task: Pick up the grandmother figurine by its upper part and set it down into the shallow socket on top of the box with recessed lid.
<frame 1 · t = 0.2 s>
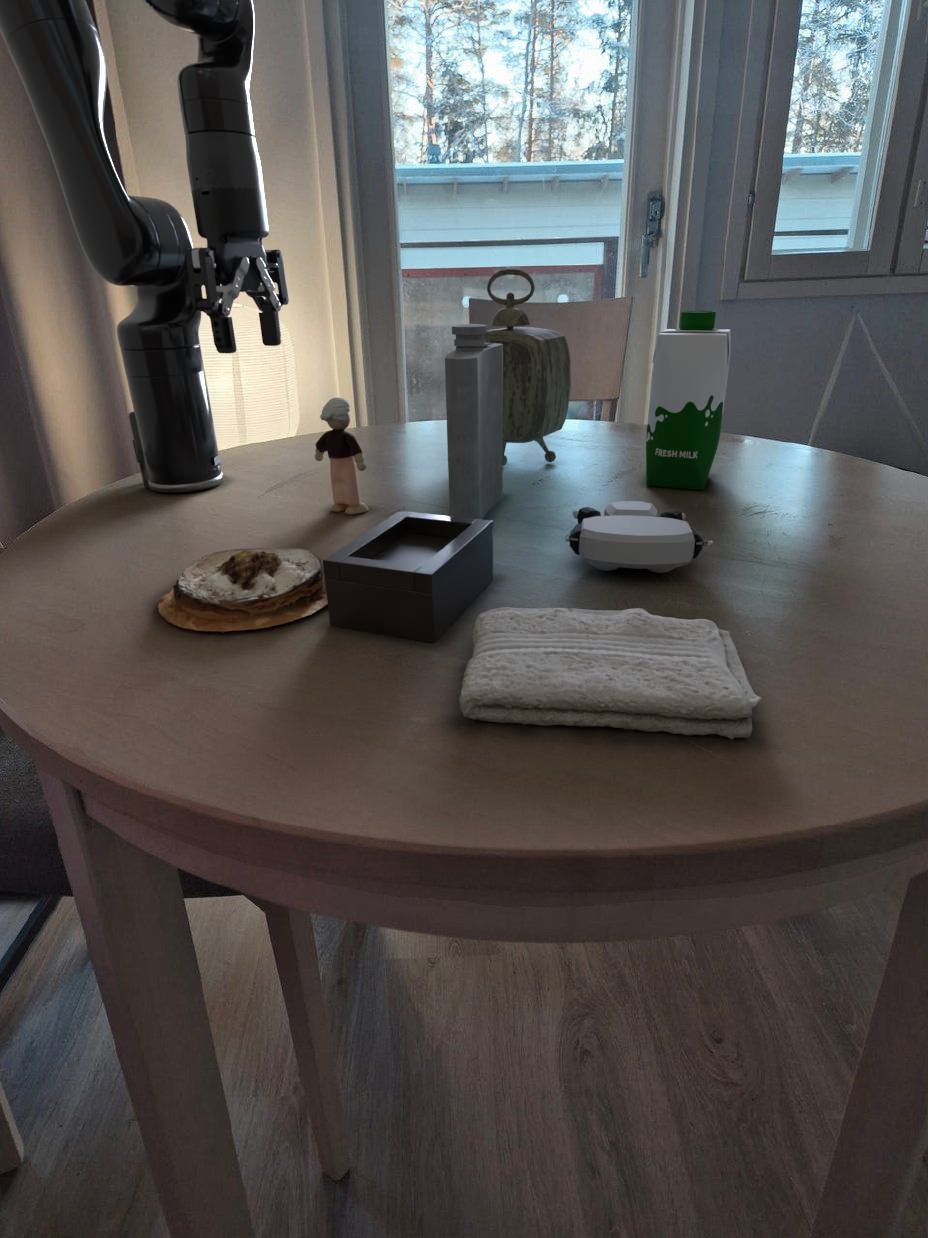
hand: (250, 349, 83), 17 cm above the table, tool pointing down, fingers open, 8 cm apart
tabletop clock: (508, 464, 103), on the table
milk carton: (677, 482, 92), on the table
robot toy: (630, 558, 68), on the table
washcloth: (600, 687, 47), on the table
box with recessed lid: (416, 600, 60), on the table
hip flask: (474, 515, 81), on the table
cream topped tart: (252, 597, 62), on the table
grandmother figurine: (346, 510, 84), on the table
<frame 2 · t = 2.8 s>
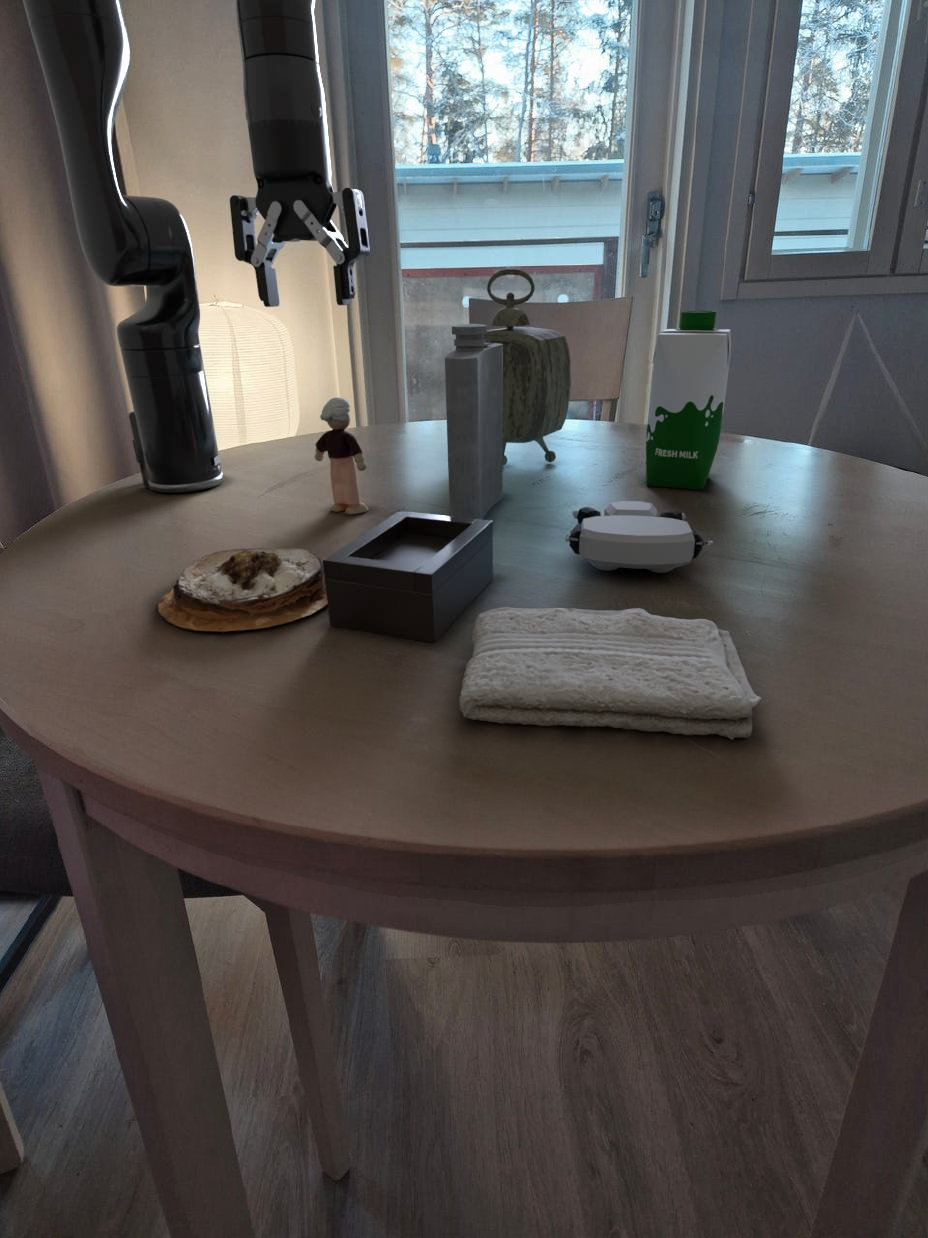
hand: (307, 305, 76), 22 cm above the table, tool pointing down, fingers open, 8 cm apart
nothing on the table moved.
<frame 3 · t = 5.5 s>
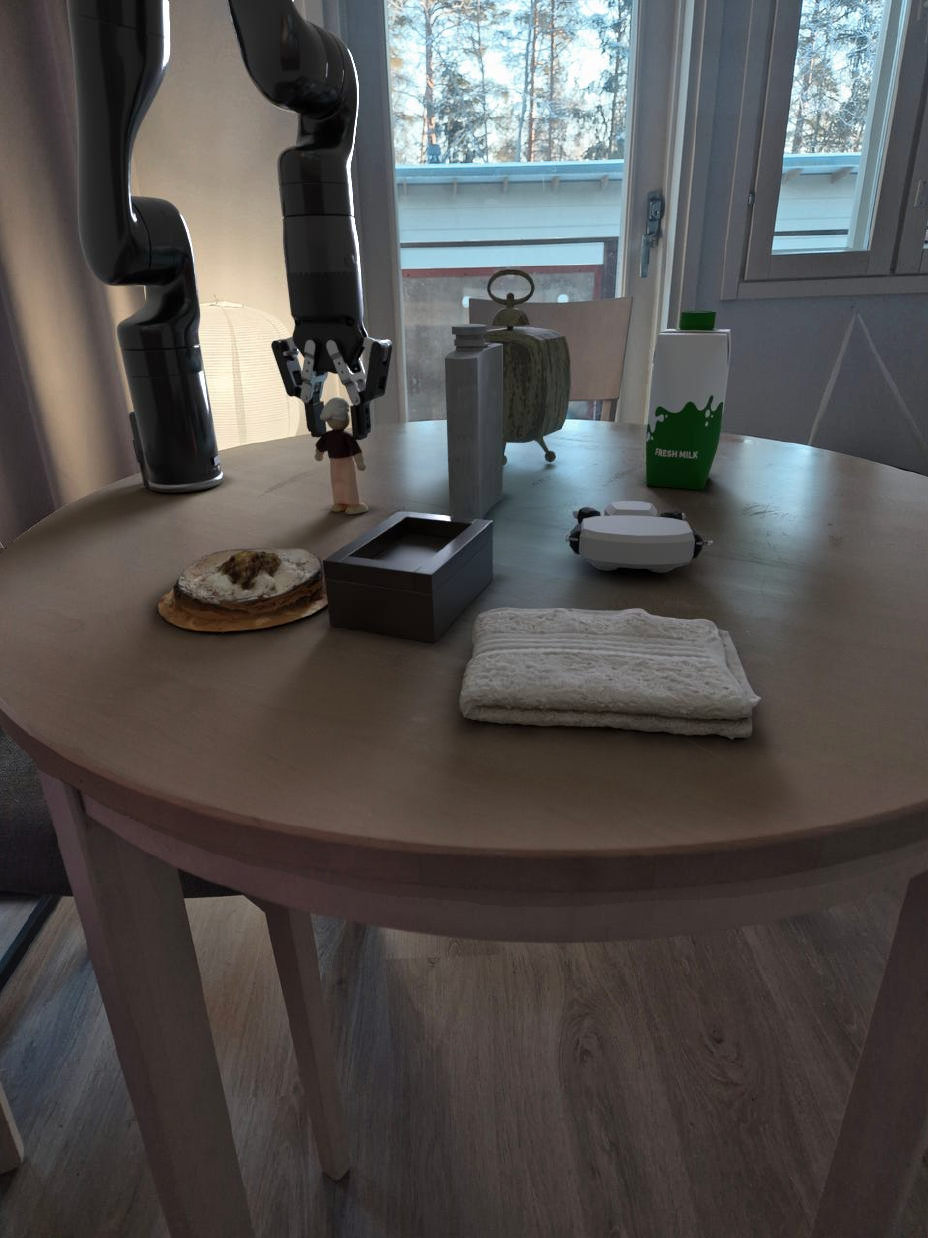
hand: (339, 436, 80), 8 cm above the table, tool pointing down, fingers closed on grandmother figurine, 4 cm apart
grandmother figurine: (346, 510, 84), on the table, touching gripper
everything else where it was.
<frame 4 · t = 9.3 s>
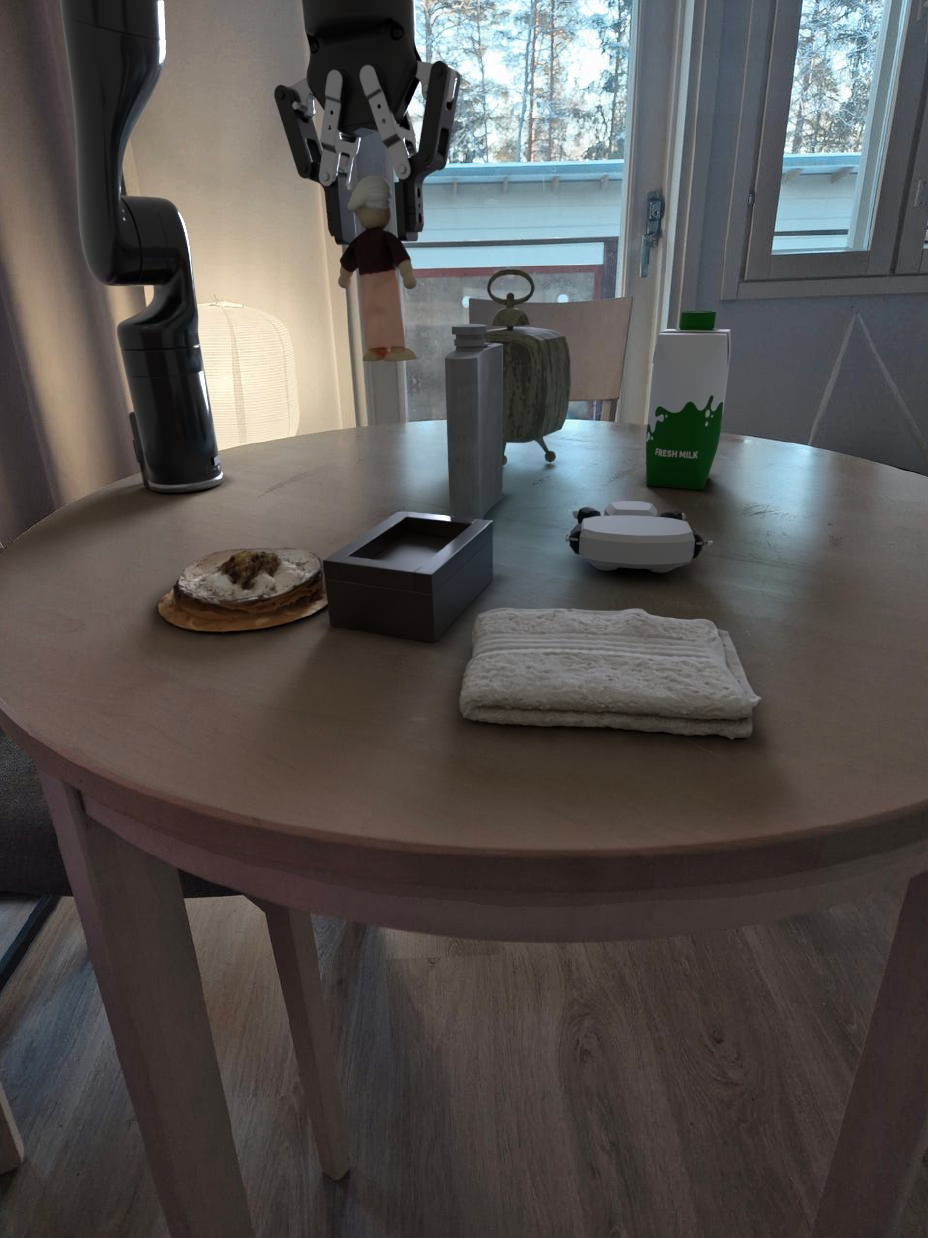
hand: (376, 241, 54), 27 cm above the table, tool pointing down, fingers closed on grandmother figurine, 4 cm apart
grandmother figurine: (384, 362, 58), point 18 cm above the table, touching gripper
everything else where it was.
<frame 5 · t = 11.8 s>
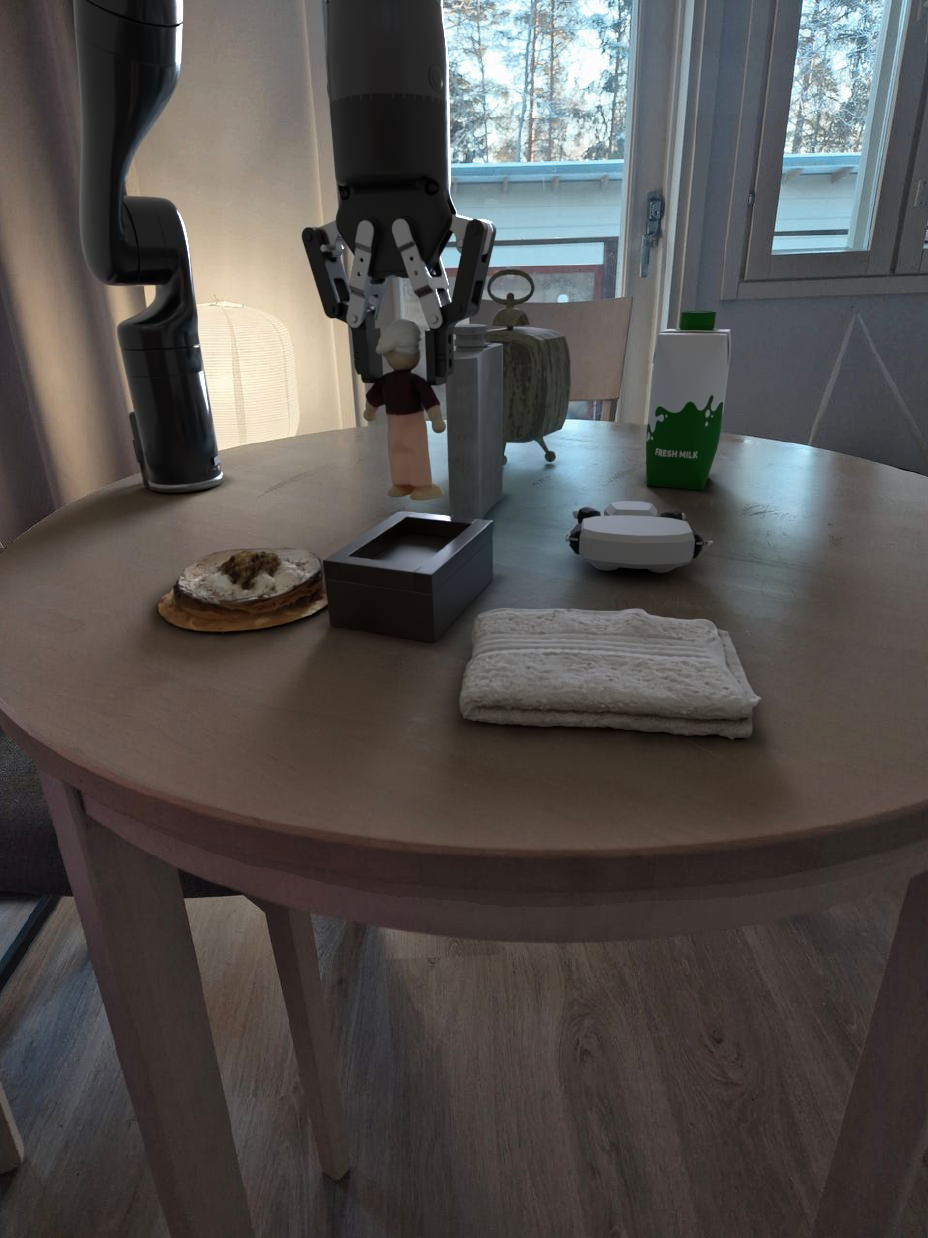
hand: (404, 381, 52), 18 cm above the table, tool pointing down, fingers closed on grandmother figurine, 4 cm apart
grandmother figurine: (409, 496, 56), point 9 cm above the table, touching gripper
everything else where it was.
when the fingers open (12 cm above the table, at t = 13.5 s): grandmother figurine stays where it is, resting on box with recessed lid.
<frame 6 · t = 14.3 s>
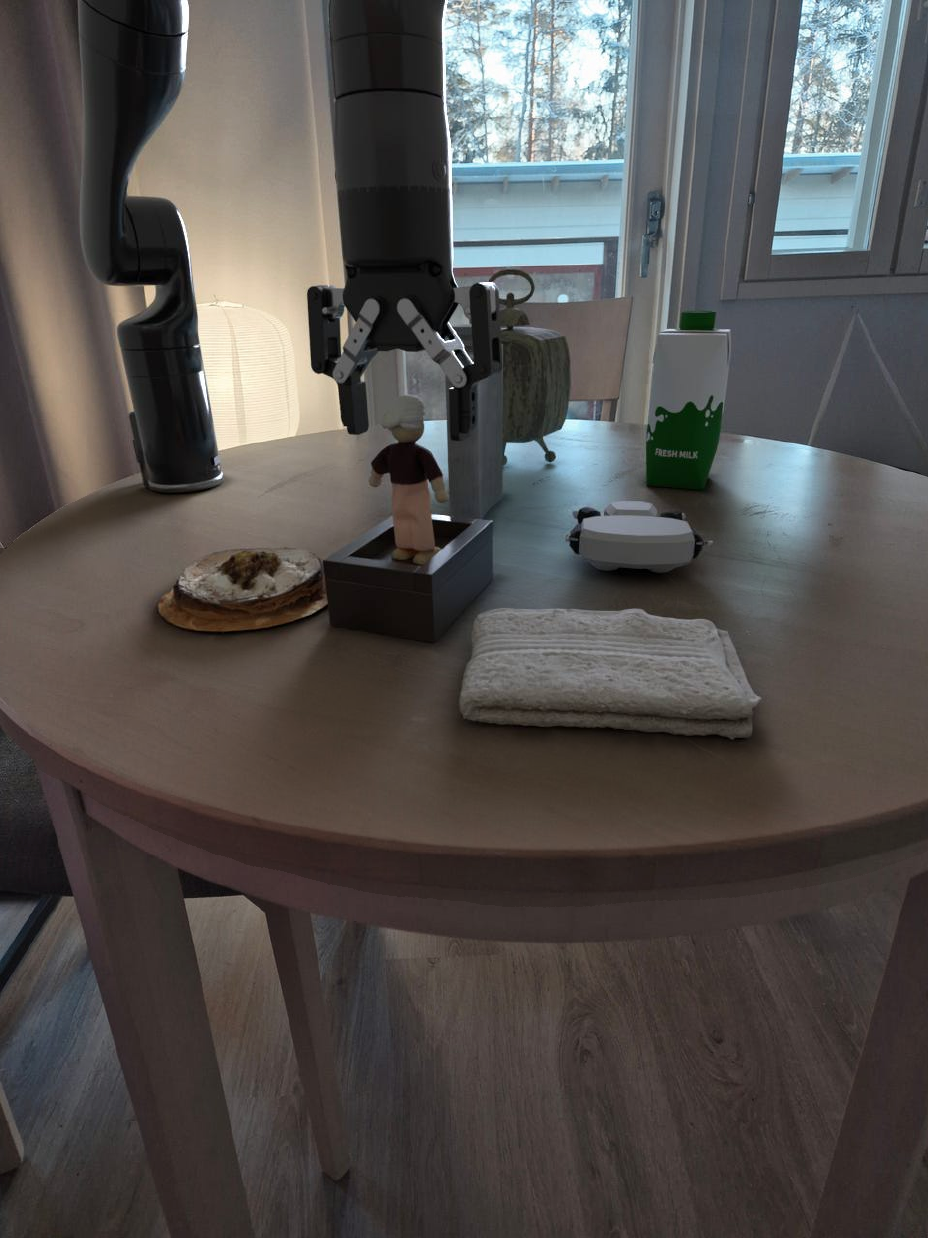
hand: (407, 435, 54), 14 cm above the table, tool pointing down, fingers open, 8 cm apart
grandmother figurine: (413, 557, 58), point 4 cm above the table, touching box with recessed lid
everything else where it was.
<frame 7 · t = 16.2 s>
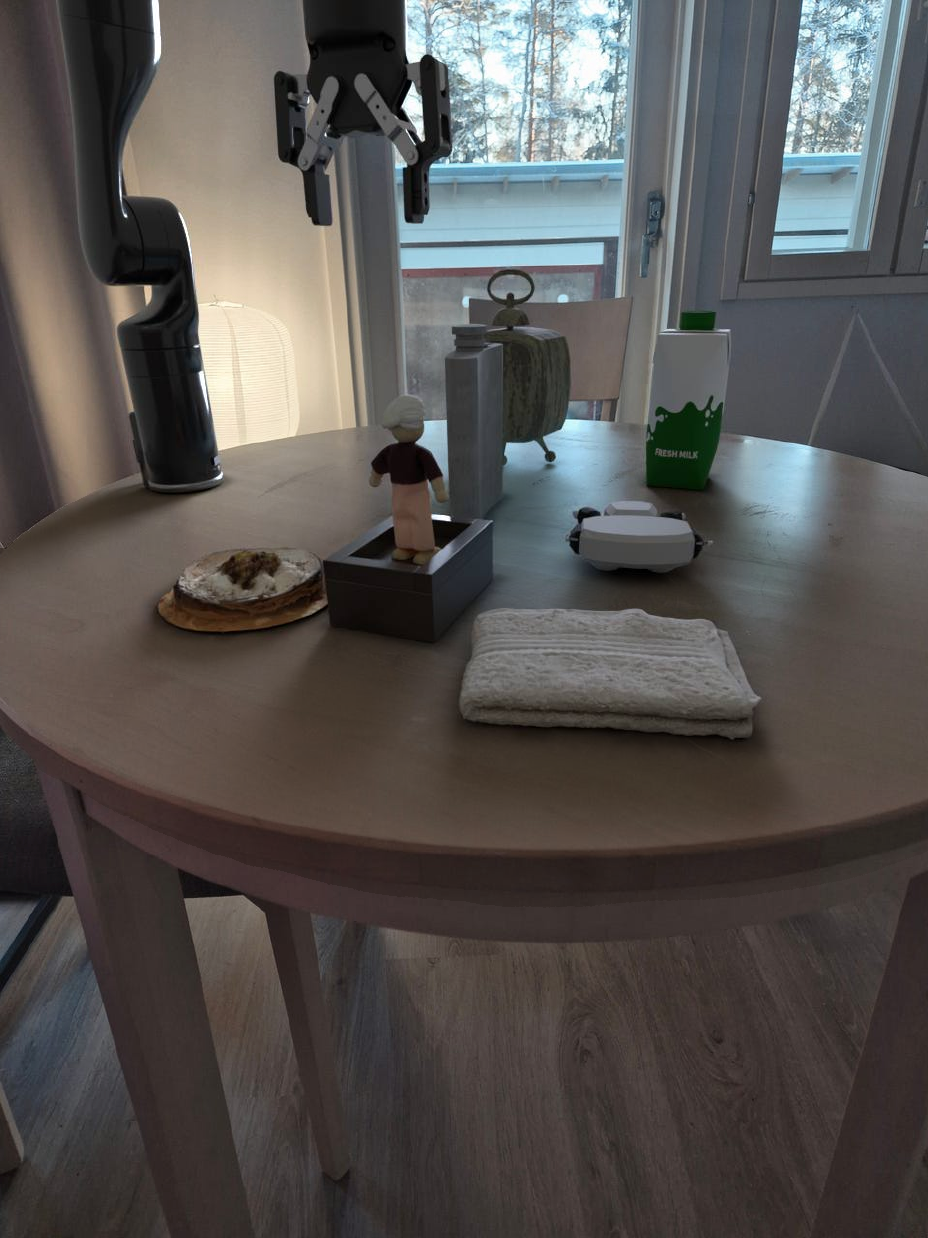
hand: (367, 224, 58), 28 cm above the table, tool pointing down, fingers open, 8 cm apart
nothing on the table moved.
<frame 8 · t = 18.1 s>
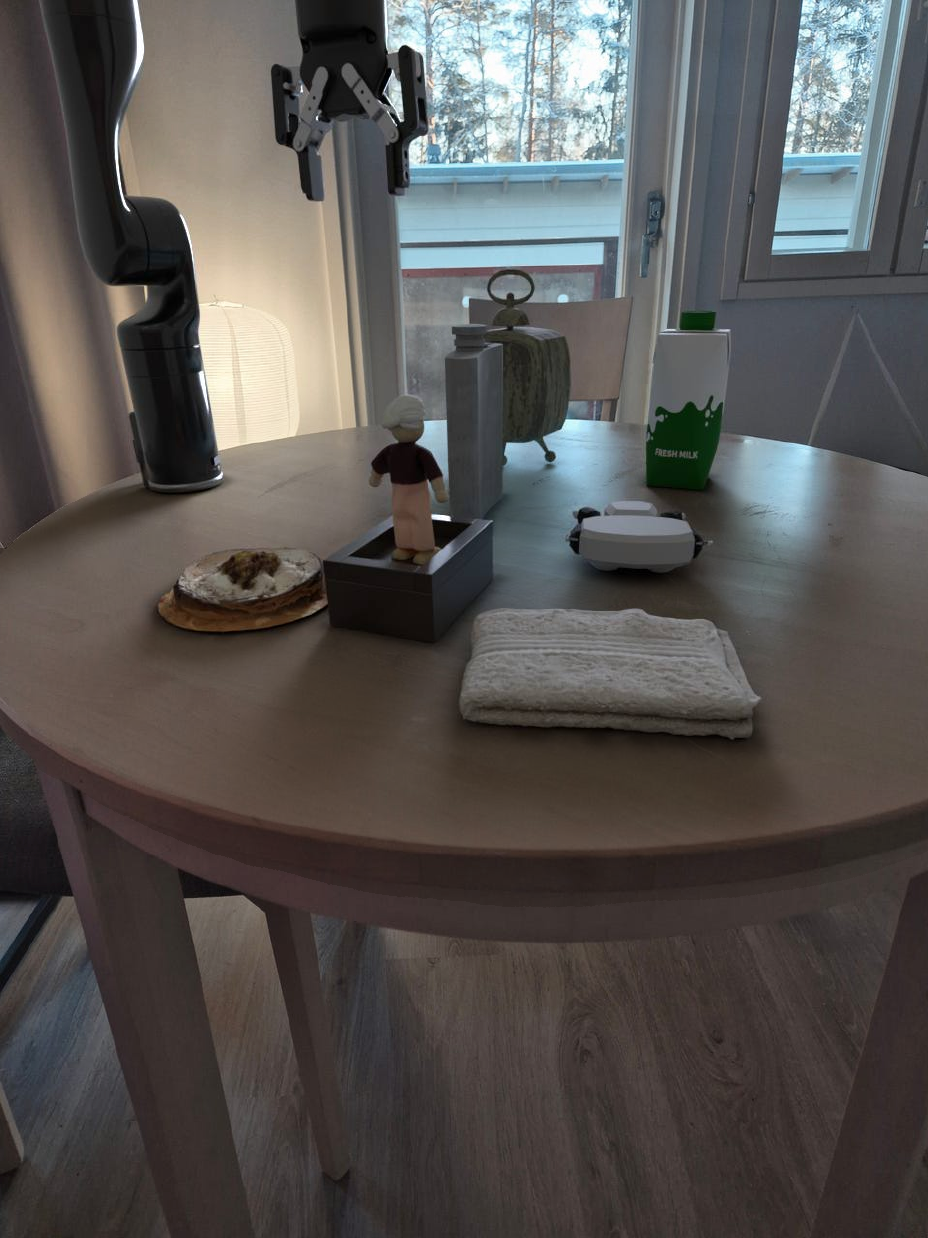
hand: (355, 198, 66), 31 cm above the table, tool pointing down, fingers open, 8 cm apart
nothing on the table moved.
at the end: grandmother figurine 0.2 cm off-centre on the box with recessed lid, point 3.8 cm above the box with recessed lid's base; grandmother figurine tilted 0°; the gripper is holding nothing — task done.
